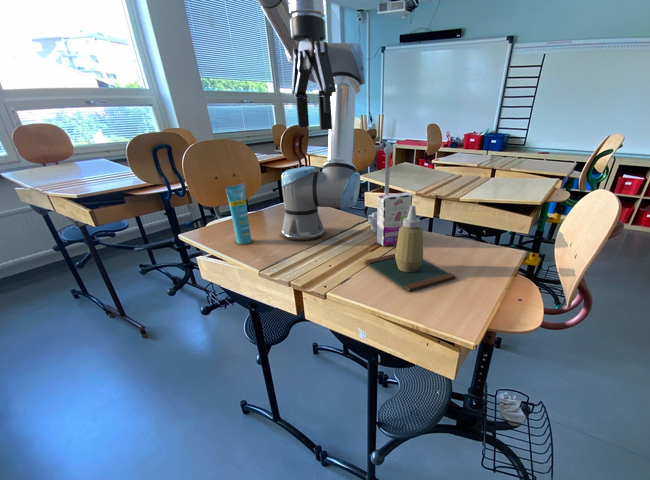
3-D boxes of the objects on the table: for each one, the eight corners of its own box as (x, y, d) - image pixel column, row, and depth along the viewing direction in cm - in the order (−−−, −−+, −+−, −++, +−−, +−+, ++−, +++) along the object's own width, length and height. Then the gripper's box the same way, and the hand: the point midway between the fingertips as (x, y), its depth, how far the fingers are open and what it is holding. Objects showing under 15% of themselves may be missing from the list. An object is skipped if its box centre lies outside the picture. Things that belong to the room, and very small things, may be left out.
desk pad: (365, 263, 103) (365, 260, 102) (407, 253, 110) (407, 250, 109) (409, 292, 86) (409, 289, 86) (455, 278, 93) (455, 275, 93)
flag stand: (363, 226, 135) (364, 144, 121) (393, 223, 140) (397, 143, 125) (375, 236, 125) (378, 147, 110) (407, 232, 129) (413, 146, 114)
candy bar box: (402, 238, 123) (405, 191, 115) (410, 242, 119) (413, 194, 111) (375, 242, 119) (376, 194, 111) (383, 247, 115) (384, 198, 107)
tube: (242, 246, 114) (232, 187, 105) (231, 244, 116) (220, 186, 106) (257, 239, 120) (248, 183, 111) (246, 237, 122) (236, 182, 112)
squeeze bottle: (404, 261, 103) (408, 201, 94) (427, 268, 98) (433, 205, 89) (388, 269, 97) (391, 206, 88) (412, 277, 93) (417, 211, 84)
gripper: (272, 25, 80) (282, 126, 90) (314, 1, 62) (321, 131, 72) (301, 29, 83) (308, 125, 94) (350, 7, 65) (352, 130, 75)
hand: (314, 128), depth 83 cm, fingers open, 13 cm apart
